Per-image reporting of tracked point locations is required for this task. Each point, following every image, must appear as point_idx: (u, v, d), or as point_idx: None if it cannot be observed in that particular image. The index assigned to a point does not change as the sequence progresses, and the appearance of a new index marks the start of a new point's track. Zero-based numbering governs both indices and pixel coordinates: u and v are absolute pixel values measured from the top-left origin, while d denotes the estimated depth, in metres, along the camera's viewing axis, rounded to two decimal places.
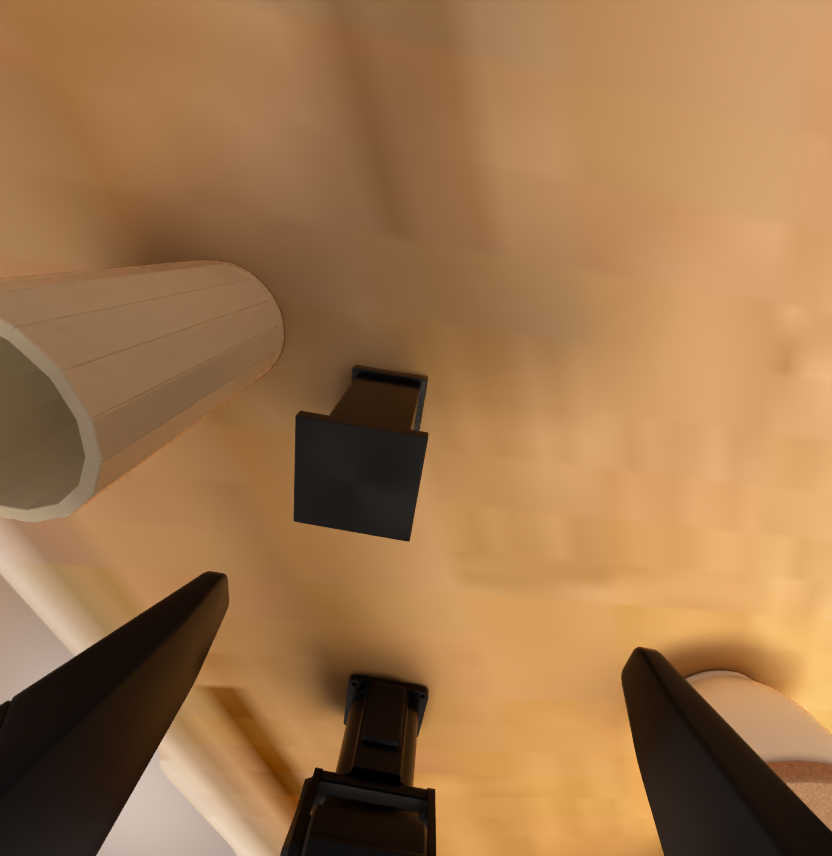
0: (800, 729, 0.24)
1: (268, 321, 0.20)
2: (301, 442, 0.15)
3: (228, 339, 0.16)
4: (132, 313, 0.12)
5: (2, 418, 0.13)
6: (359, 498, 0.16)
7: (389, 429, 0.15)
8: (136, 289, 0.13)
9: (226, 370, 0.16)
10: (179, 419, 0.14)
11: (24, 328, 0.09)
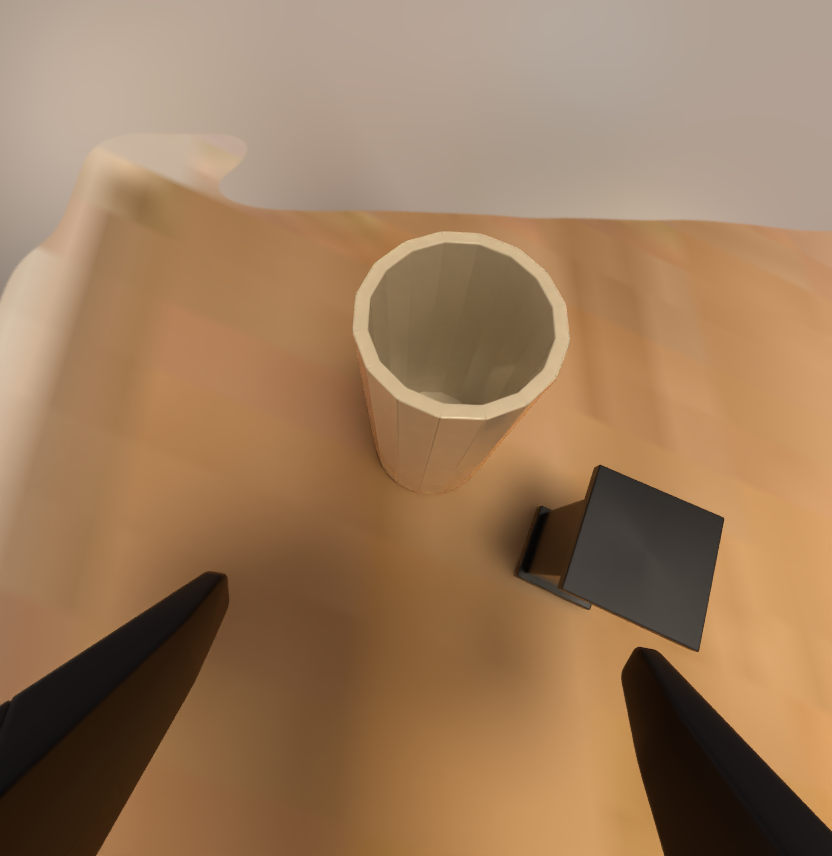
0: None
1: None
2: (599, 491, 0.15)
3: None
4: None
5: None
6: (647, 573, 0.14)
7: (684, 502, 0.15)
8: None
9: None
10: (515, 424, 0.15)
11: (547, 276, 0.13)
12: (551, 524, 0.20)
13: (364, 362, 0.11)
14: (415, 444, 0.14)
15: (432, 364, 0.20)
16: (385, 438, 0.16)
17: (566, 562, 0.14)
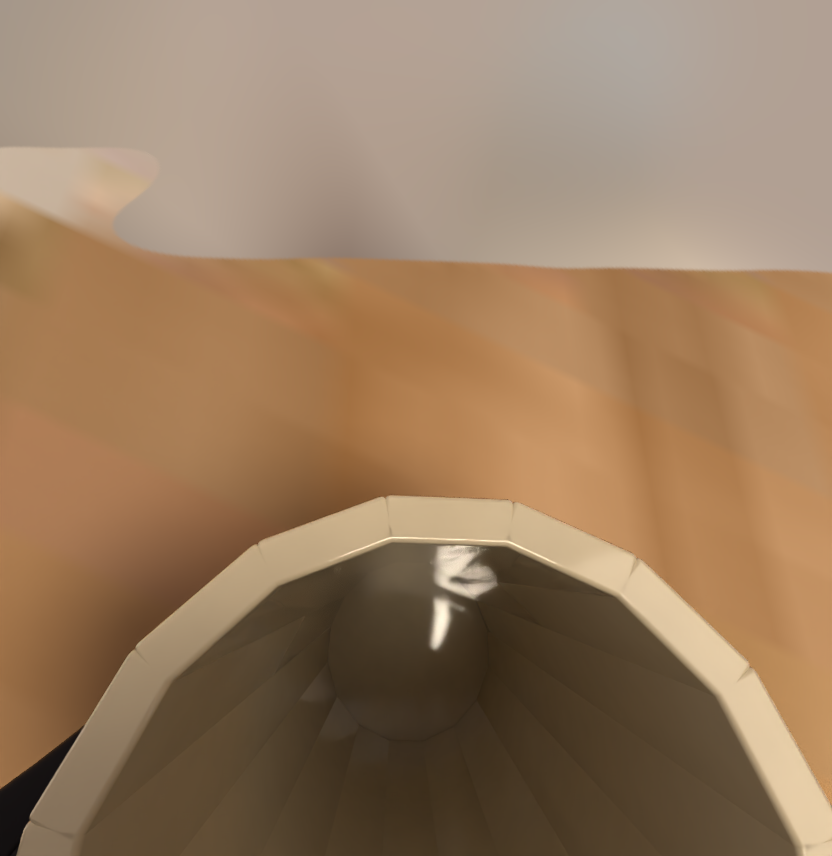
0: None
1: None
2: None
3: None
4: None
5: (199, 814, 0.05)
6: None
7: None
8: None
9: None
10: None
11: (748, 672, 0.04)
12: None
13: None
14: None
15: None
16: None
17: None
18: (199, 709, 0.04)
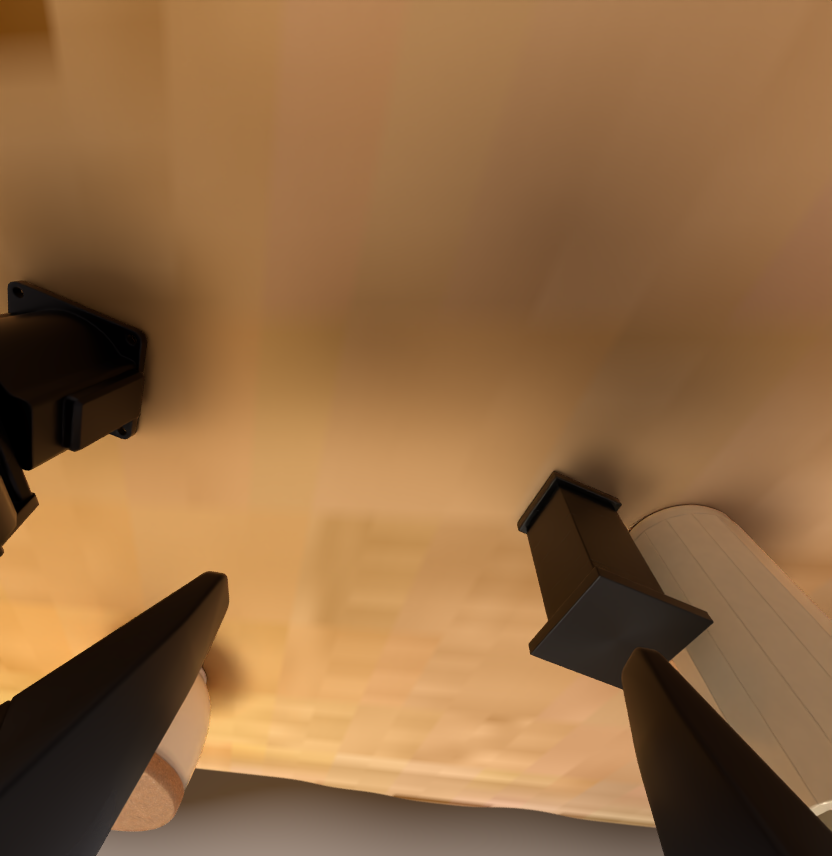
0: (196, 763, 0.28)
1: None
2: (686, 617, 0.15)
3: None
4: None
5: None
6: (599, 636, 0.16)
7: None
8: None
9: None
10: None
11: None
12: (611, 522, 0.20)
13: None
14: (728, 696, 0.15)
15: None
16: (729, 631, 0.16)
17: (619, 578, 0.15)
18: None
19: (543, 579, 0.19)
